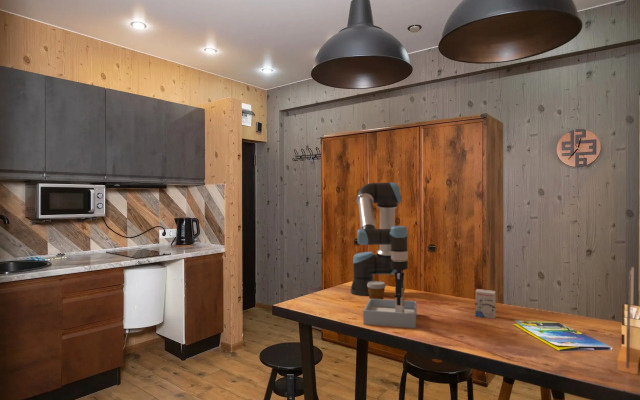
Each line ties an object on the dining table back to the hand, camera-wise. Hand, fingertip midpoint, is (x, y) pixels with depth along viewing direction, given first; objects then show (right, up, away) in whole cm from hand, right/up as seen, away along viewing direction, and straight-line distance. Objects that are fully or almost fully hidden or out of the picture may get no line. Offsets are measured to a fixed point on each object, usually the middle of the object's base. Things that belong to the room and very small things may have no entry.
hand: (399, 308), depth 172 cm
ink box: (+40, -5, +3) cm, 41 cm away
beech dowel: (0, -5, 0) cm, 5 cm away
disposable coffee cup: (-7, -5, +22) cm, 24 cm away
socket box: (-4, -5, +1) cm, 6 cm away
